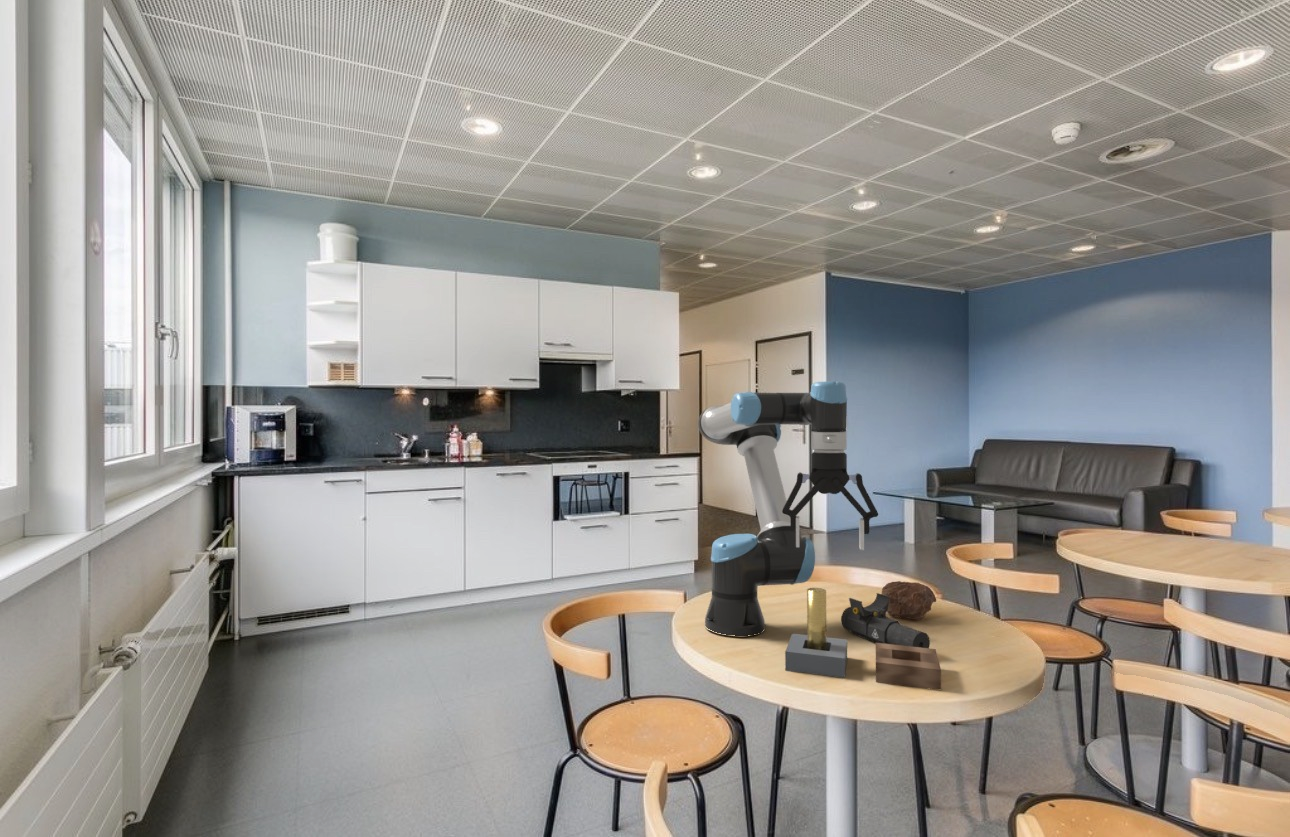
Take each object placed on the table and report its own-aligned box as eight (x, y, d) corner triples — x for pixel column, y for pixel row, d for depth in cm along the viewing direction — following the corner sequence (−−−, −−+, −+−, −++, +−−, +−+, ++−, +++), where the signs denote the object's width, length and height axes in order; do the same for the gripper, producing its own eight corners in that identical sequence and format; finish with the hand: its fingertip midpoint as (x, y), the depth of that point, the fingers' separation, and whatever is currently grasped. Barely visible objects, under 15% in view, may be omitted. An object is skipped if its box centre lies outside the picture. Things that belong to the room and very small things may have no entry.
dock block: (875, 681, 127) (875, 662, 127) (875, 660, 139) (875, 642, 139) (941, 690, 123) (940, 669, 123) (935, 667, 134) (935, 649, 134)
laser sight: (906, 662, 138) (905, 616, 138) (832, 632, 158) (832, 592, 158) (936, 655, 143) (935, 610, 143) (860, 626, 163) (860, 587, 163)
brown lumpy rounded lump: (942, 619, 168) (941, 581, 168) (919, 627, 161) (919, 588, 161) (896, 608, 178) (896, 572, 178) (873, 615, 171) (873, 578, 172)
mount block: (785, 670, 134) (785, 651, 134) (792, 651, 145) (792, 633, 145) (844, 677, 129) (844, 658, 129) (847, 657, 141) (847, 639, 141)
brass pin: (806, 666, 136) (806, 591, 136) (808, 659, 140) (808, 587, 140) (825, 668, 135) (825, 593, 135) (827, 661, 138) (826, 588, 138)
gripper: (770, 451, 139) (771, 548, 139) (891, 452, 133) (891, 553, 133) (772, 450, 146) (772, 541, 146) (886, 451, 140) (886, 546, 140)
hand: (829, 547), depth 139 cm, fingers open, 13 cm apart
